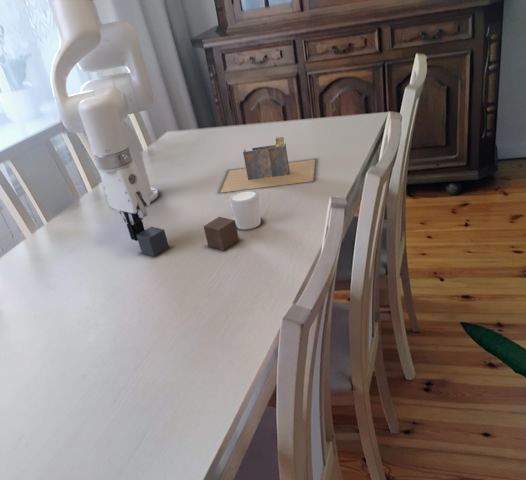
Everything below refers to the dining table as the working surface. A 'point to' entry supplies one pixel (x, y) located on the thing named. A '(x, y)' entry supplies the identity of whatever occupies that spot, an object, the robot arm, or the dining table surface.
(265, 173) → the ruin model on sheet
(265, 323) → the dining table surface
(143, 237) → the charcoal block
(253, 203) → the white cylinder
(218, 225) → the walnut block
